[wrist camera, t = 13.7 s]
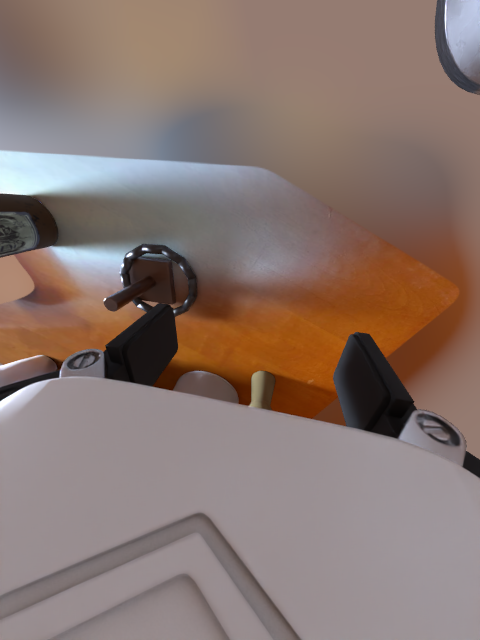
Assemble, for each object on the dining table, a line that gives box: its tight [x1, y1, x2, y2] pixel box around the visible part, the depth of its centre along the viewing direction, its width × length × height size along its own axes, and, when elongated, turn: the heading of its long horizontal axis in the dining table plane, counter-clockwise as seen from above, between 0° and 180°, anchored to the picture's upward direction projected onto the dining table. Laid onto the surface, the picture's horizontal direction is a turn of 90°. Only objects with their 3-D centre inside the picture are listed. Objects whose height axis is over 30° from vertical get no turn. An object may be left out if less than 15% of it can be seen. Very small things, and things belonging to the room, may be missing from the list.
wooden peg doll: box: [249, 371, 275, 411], centre depth 46 cm, size 6×6×11 cm
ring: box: [120, 244, 197, 317], centre depth 41 cm, size 15×15×2 cm
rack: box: [104, 257, 176, 311], centre depth 37 cm, size 9×9×12 cm
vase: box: [0, 355, 57, 387], centre depth 54 cm, size 14×14×25 cm
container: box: [173, 371, 239, 404], centre depth 52 cm, size 19×19×15 cm
